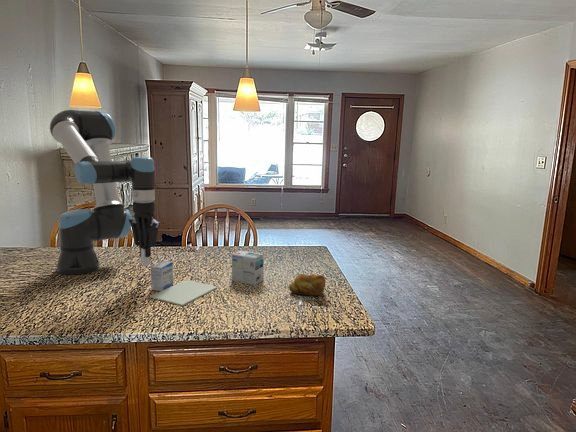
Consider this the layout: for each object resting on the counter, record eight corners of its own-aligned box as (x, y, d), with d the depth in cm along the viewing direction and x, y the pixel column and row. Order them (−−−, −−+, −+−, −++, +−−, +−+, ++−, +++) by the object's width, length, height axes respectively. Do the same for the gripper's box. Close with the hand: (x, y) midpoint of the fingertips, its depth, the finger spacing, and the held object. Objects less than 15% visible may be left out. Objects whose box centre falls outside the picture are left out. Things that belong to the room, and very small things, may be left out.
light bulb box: (263, 280, 159) (264, 253, 157) (255, 285, 153) (255, 257, 151) (240, 275, 164) (240, 249, 162) (230, 280, 158) (231, 253, 156)
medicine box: (162, 291, 144) (161, 268, 143) (150, 290, 145) (150, 266, 144) (173, 284, 152) (173, 261, 150) (162, 282, 153) (162, 260, 151)
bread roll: (287, 296, 145) (288, 274, 143) (290, 286, 154) (291, 266, 153) (324, 299, 143) (325, 277, 142) (325, 289, 153) (326, 268, 151)
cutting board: (149, 297, 139) (149, 296, 139) (186, 281, 156) (186, 279, 156) (182, 306, 133) (182, 304, 133) (217, 288, 150) (217, 286, 150)
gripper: (122, 200, 146) (124, 264, 150) (149, 204, 140) (151, 270, 144) (138, 198, 152) (140, 259, 157) (165, 201, 147) (166, 265, 151)
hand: (145, 265), depth 151 cm, fingers closed
